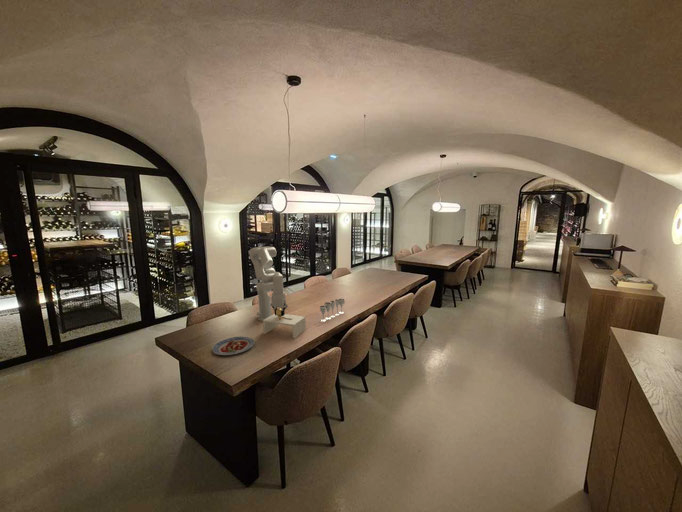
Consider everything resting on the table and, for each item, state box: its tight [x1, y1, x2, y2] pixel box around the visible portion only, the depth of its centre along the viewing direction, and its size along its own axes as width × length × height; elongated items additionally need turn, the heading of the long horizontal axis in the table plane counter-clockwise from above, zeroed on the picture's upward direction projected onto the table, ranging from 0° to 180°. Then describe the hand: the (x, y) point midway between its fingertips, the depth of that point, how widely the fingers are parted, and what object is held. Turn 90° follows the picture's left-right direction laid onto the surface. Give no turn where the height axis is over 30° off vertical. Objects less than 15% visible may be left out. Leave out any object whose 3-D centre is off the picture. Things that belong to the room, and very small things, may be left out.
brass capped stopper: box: [276, 307, 282, 320], centre depth 209 cm, size 5×5×10 cm
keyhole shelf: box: [262, 313, 307, 339], centre depth 209 cm, size 26×16×10 cm, turn 69°
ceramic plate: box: [211, 335, 255, 356], centre depth 186 cm, size 26×26×3 cm
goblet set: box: [319, 298, 346, 322], centre depth 238 cm, size 28×6×13 cm, turn 139°
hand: (279, 314), depth 209 cm, fingers closed on brass capped stopper, 5 cm apart
